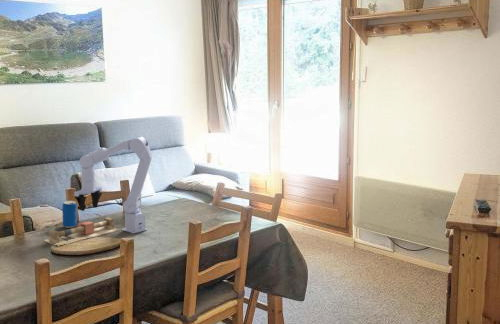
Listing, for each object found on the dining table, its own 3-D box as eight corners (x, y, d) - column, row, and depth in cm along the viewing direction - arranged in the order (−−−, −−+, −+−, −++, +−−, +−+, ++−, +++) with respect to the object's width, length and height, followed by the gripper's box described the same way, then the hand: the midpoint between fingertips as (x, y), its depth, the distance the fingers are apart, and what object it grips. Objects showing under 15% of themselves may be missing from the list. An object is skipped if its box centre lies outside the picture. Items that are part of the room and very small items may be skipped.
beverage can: (72, 228, 236) (72, 204, 233) (59, 227, 237) (59, 203, 234) (79, 224, 242) (79, 201, 240) (67, 223, 243) (67, 199, 241)
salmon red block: (86, 229, 230) (85, 220, 229) (94, 232, 226) (93, 222, 225) (78, 231, 227) (77, 222, 226) (86, 234, 223) (85, 224, 222)
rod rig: (104, 226, 239) (104, 215, 239) (119, 230, 232) (118, 220, 231) (44, 241, 216) (43, 229, 216) (58, 246, 209) (57, 234, 208)
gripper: (94, 177, 238) (94, 204, 240) (69, 181, 226) (70, 210, 228) (104, 178, 235) (105, 206, 237) (80, 183, 222) (81, 212, 224)
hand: (88, 208), depth 232 cm, fingers open, 7 cm apart
